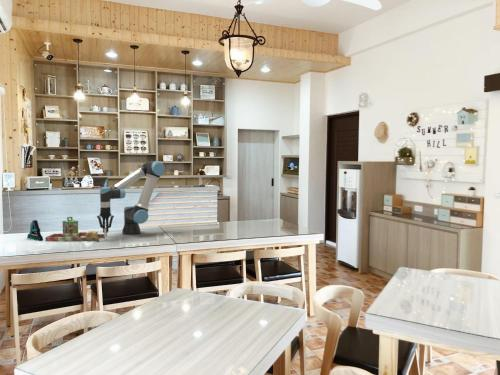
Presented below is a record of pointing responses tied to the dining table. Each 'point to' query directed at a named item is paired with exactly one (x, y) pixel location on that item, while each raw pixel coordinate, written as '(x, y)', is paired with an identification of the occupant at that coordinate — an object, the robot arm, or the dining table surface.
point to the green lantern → (70, 226)
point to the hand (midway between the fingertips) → (105, 236)
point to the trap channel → (73, 237)
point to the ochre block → (92, 234)
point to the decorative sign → (35, 231)
